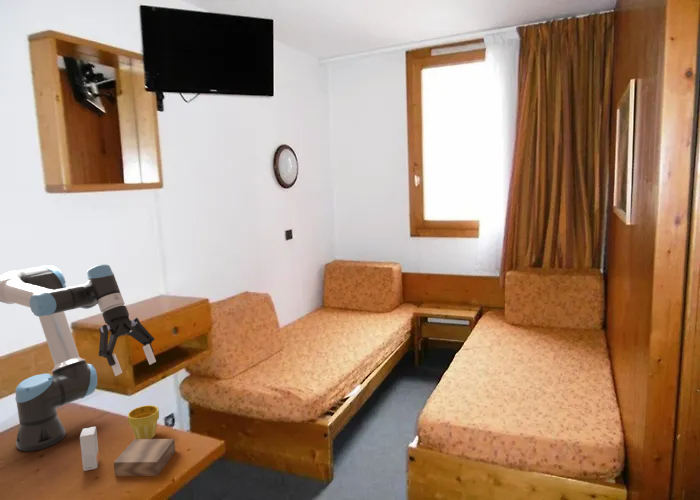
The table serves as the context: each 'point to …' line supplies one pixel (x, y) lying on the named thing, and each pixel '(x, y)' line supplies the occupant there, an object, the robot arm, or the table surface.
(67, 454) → the table surface
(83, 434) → the skincare box
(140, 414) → the plant pot
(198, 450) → the table surface
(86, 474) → the table surface
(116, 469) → the walnut block
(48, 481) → the table surface
